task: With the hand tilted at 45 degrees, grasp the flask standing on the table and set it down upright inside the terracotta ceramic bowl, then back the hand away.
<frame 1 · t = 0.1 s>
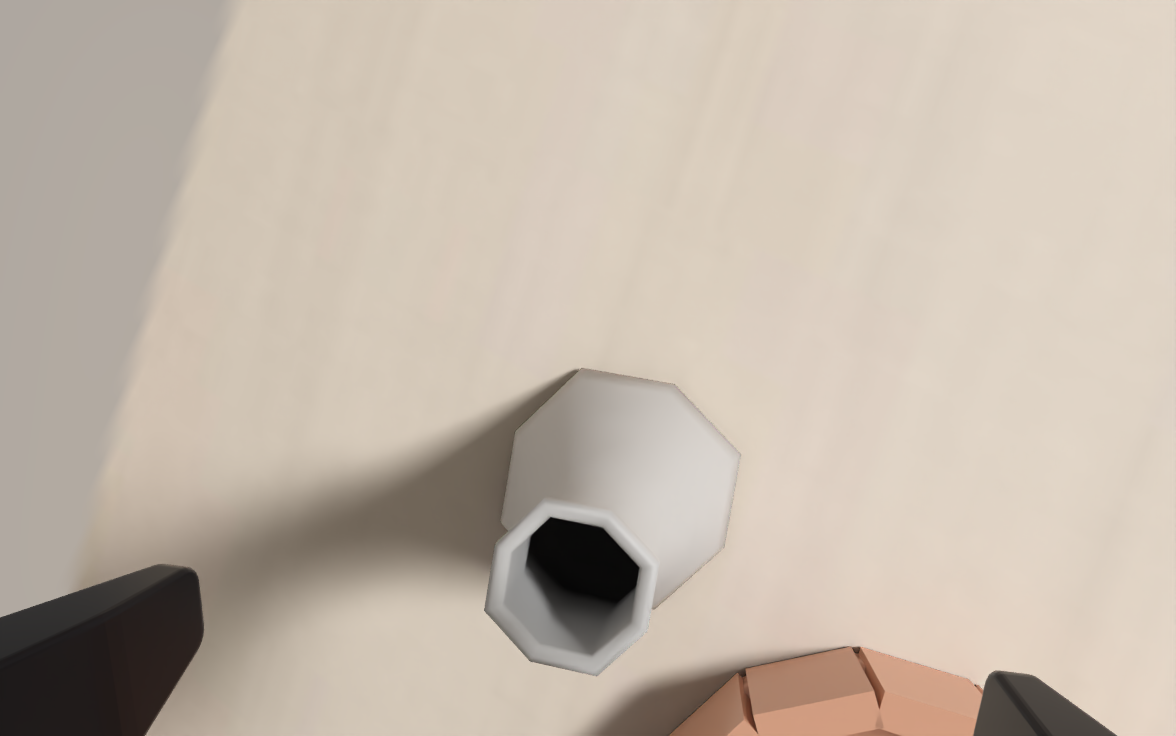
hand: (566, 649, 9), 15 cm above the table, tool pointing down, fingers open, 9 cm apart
flask: (619, 485, 25), on the table
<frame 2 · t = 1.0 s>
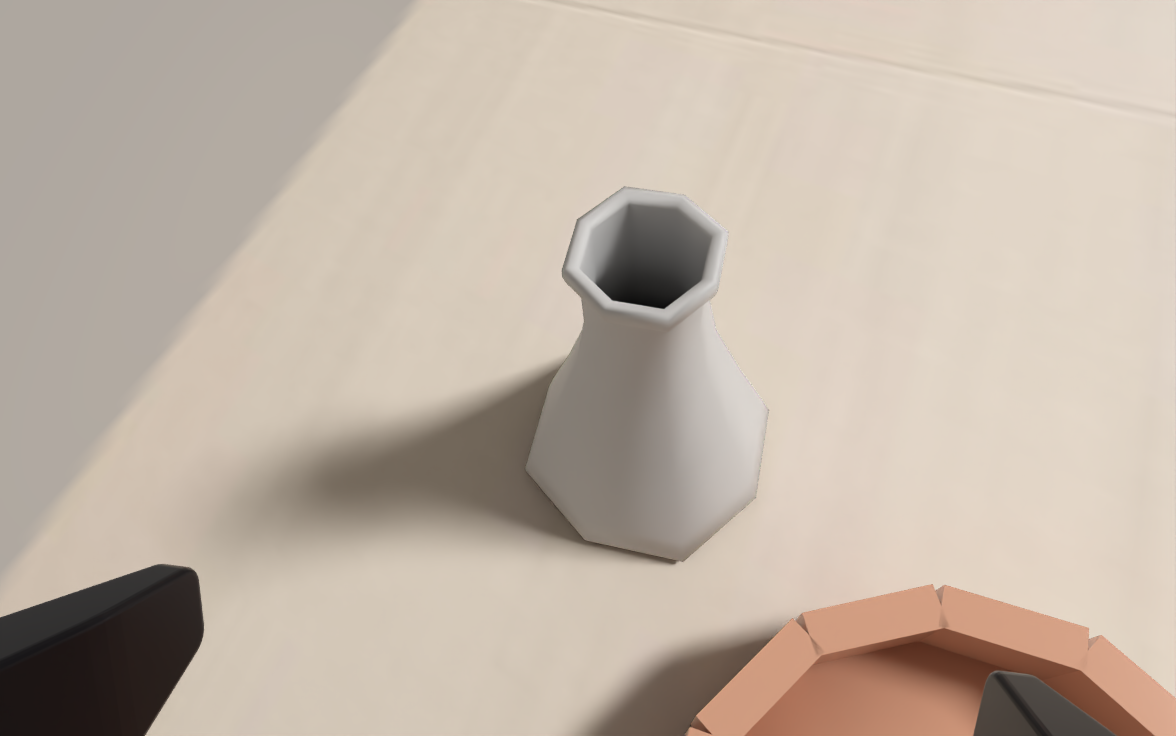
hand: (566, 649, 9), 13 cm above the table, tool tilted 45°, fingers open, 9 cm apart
flask: (647, 445, 25), on the table
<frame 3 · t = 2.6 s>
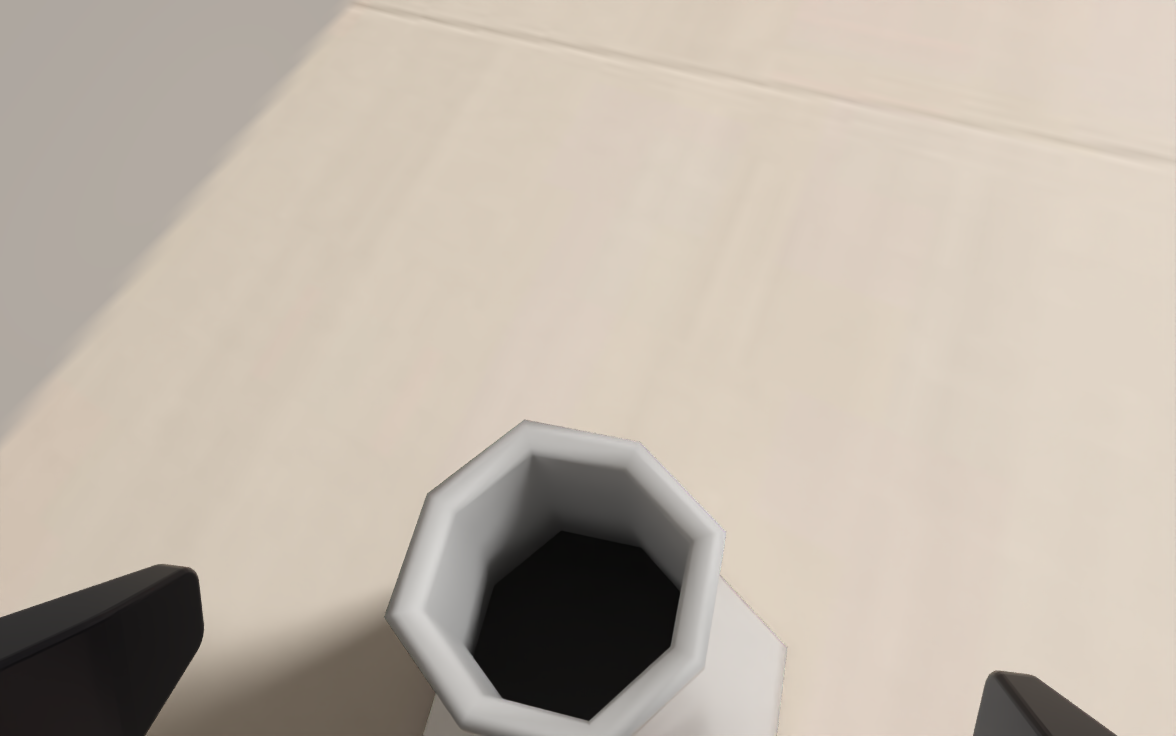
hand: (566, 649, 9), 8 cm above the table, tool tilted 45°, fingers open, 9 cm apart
flask: (607, 696, 17), on the table
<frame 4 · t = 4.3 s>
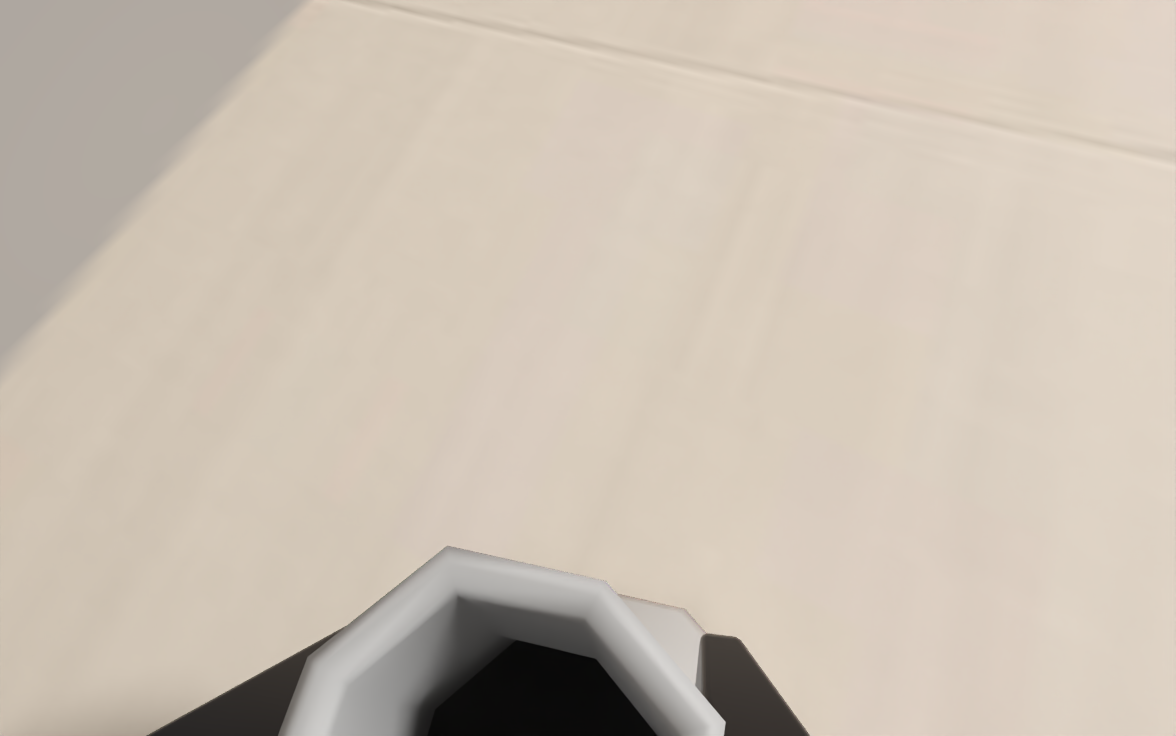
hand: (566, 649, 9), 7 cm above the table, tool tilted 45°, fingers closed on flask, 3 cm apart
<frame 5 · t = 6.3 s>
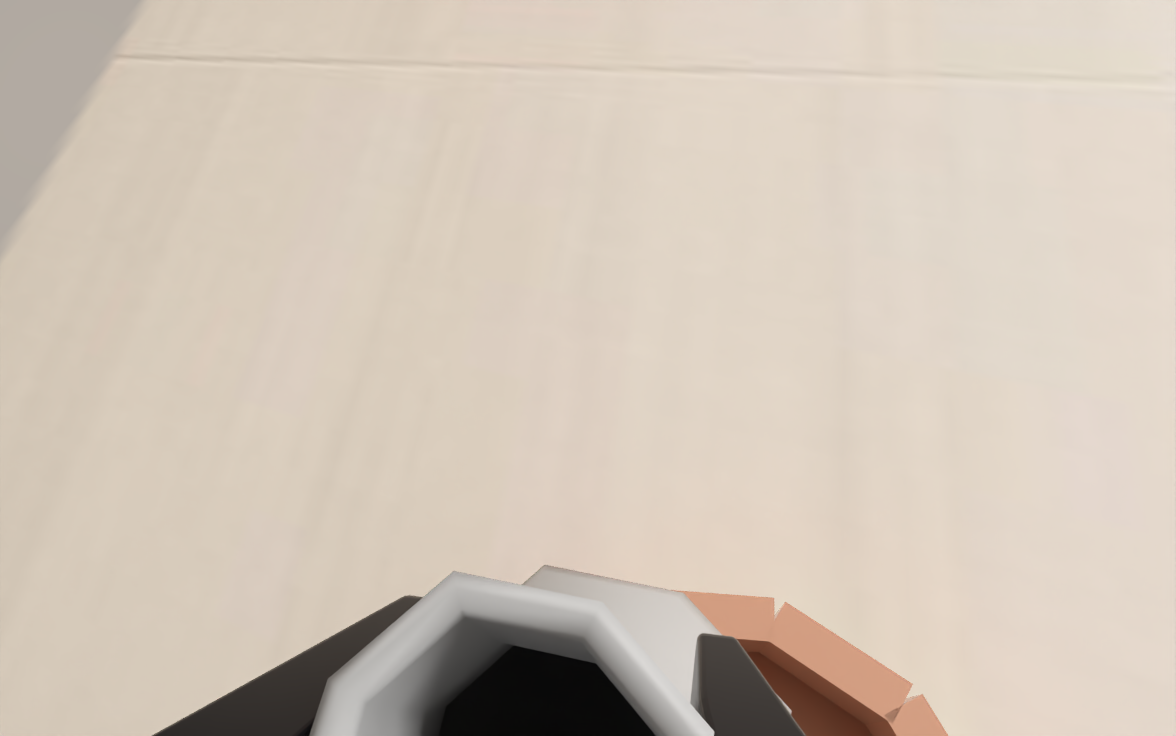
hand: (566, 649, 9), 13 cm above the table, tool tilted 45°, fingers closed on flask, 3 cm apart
when the fingers open (9 cm above the table, at t = 8.3 s): flask stays where it is, resting on bowl.
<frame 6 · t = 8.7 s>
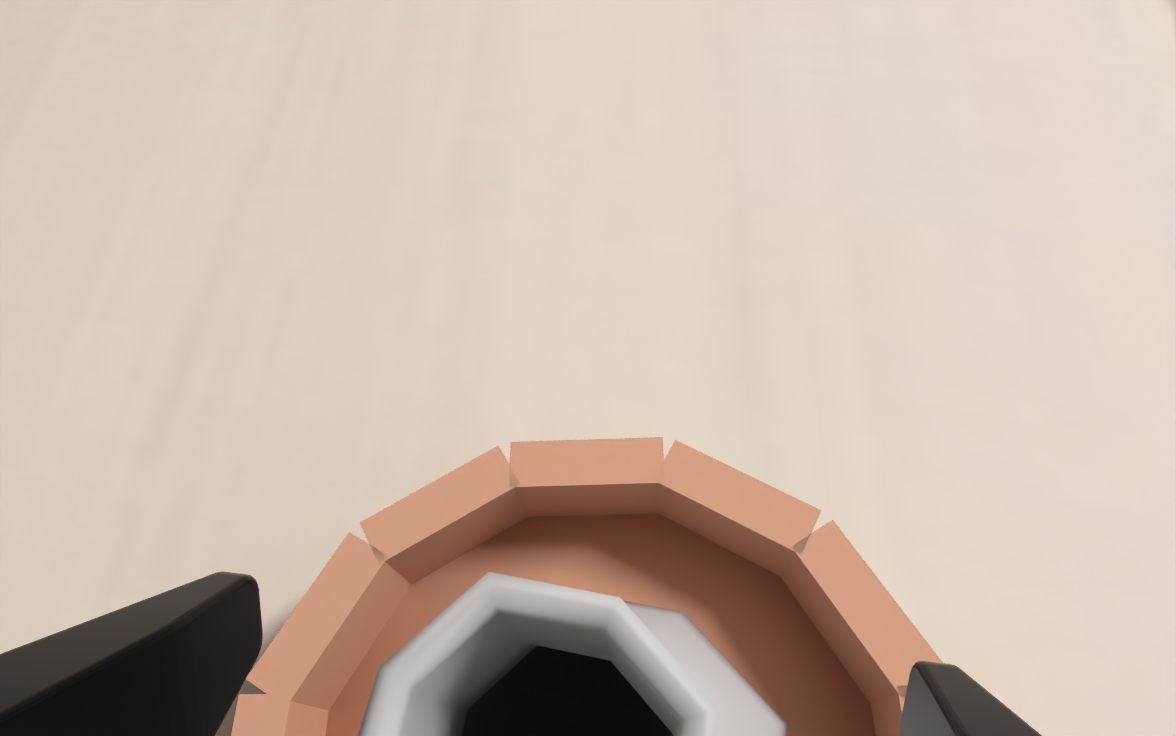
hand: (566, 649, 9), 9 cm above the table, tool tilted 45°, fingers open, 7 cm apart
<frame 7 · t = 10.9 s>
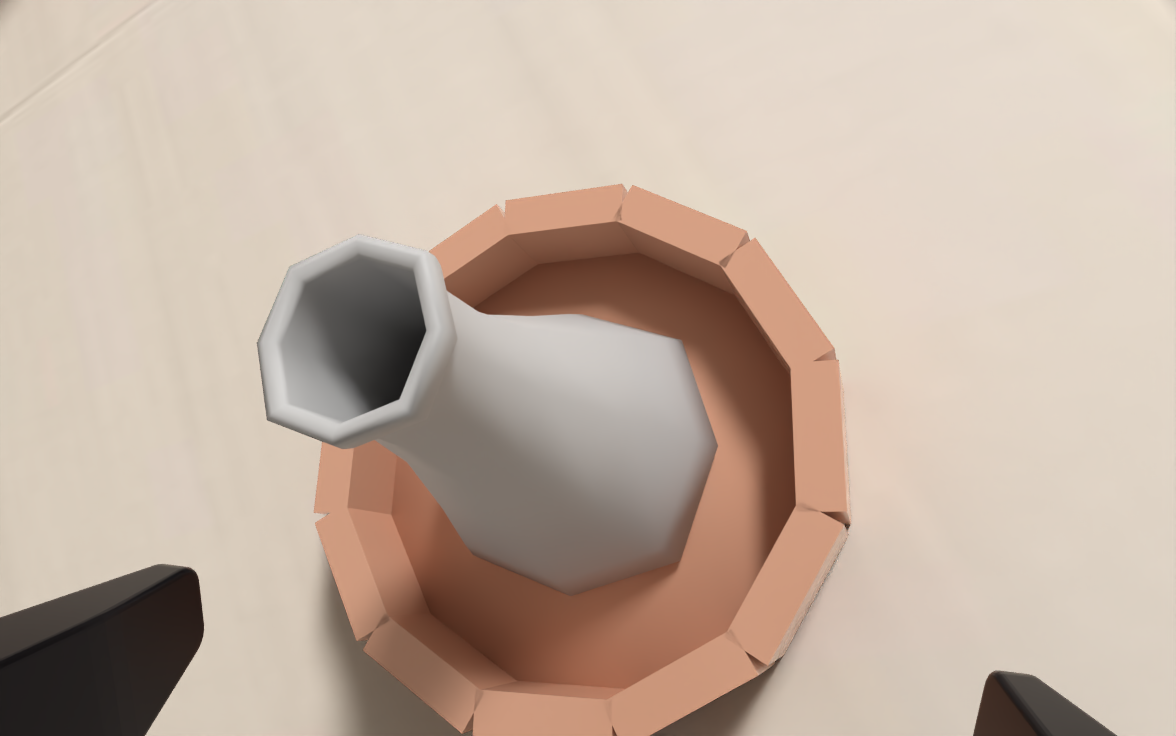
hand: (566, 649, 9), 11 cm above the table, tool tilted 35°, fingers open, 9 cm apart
flask: (582, 451, 21), point 1 cm above the table, touching bowl
bowl: (593, 462, 21), on the table
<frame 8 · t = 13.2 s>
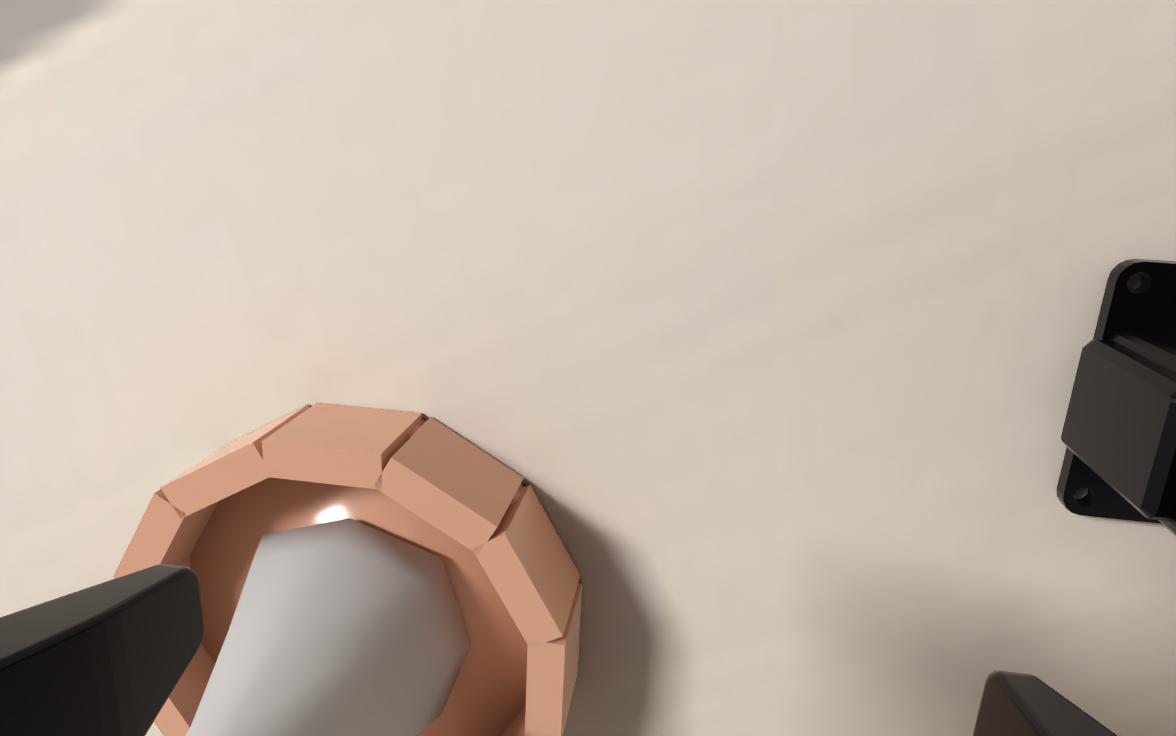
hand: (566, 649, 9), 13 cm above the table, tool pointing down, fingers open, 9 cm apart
flask: (360, 617, 24), point 1 cm above the table, touching bowl
bowl: (375, 602, 25), on the table
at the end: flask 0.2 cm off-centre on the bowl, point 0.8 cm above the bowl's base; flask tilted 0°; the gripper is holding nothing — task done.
